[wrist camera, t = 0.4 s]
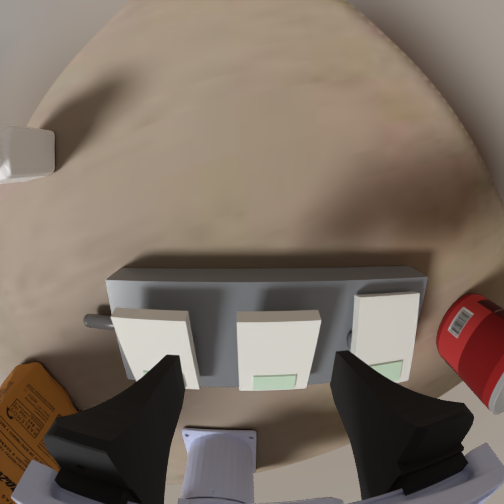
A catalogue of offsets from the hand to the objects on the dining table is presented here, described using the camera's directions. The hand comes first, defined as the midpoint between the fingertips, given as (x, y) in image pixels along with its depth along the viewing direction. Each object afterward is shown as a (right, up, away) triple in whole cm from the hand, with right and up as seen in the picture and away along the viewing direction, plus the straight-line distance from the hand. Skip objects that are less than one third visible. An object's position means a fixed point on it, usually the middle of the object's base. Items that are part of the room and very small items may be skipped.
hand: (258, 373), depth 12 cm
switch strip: (-1, 0, +11) cm, 11 cm away
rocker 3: (+9, -1, +7) cm, 12 cm away
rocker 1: (-7, -1, +7) cm, 10 cm away
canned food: (+22, -2, +12) cm, 25 cm away
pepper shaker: (-19, +14, +7) cm, 24 cm away
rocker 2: (+1, -1, +7) cm, 7 cm away
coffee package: (-26, -13, +14) cm, 32 cm away
